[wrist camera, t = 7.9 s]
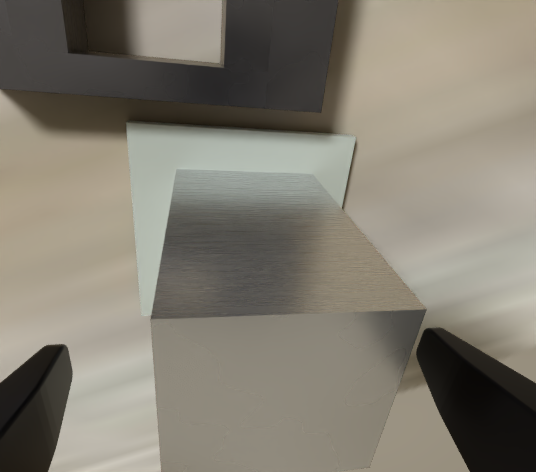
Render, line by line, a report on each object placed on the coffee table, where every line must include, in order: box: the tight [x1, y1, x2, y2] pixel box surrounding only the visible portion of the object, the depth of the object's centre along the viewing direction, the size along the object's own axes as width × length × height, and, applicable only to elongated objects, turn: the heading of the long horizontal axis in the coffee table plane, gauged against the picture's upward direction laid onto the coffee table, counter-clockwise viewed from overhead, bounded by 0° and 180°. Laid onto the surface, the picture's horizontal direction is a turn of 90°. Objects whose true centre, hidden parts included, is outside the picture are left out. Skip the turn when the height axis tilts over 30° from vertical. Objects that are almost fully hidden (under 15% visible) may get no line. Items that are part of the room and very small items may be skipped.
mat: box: [126, 121, 356, 316], centre depth 15 cm, size 8×8×1 cm
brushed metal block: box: [151, 169, 427, 472], centre depth 11 cm, size 5×5×8 cm
